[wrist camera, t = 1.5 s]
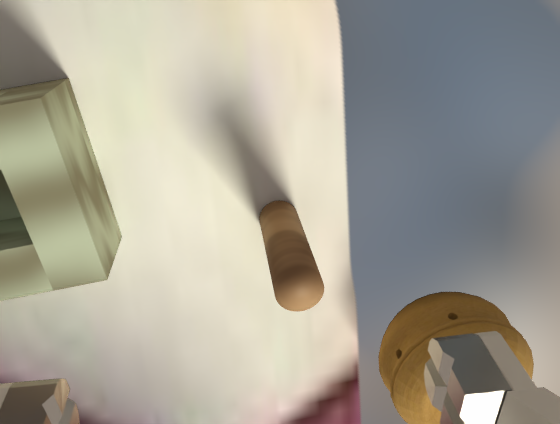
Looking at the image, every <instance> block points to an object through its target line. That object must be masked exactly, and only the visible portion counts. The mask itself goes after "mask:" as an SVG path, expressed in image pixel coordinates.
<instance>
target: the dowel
mask: <svg viewBox="0 0 560 424" xmlns="http://www.w3.org/2000/svg"><path fill="white" fill-rule="evenodd" d="M259 220H260V225H261V230H262V235H263V240H264V245H265V250H266V254H267V259H268V264H269V269H270V274H271V279H272V283H273V288H274V293H275V297H276V300H277V302H278V303H279V304H280V305H281V306H282V307H283V308H285V309H287V310H290V311H304V310H307V309H310V308H311V307H313V306H315V305H316V304H317V303H318V302H319V301H320V299H321V298H322V296H323V293H324V284H323V281H322V278H321V276H320V273H319V270H318V267H317V265H316V262H315V259H314V257H313V254H312V251H311V249H310V246H309V243H308V241H307V238H306V235H305V233H304V230H303V227H302V225H301V222H300V219H299V217H298V214H297V211H296V209H295V208H294V206H293V205H291V204H290V203H288V202H286V201H273V202H271V203H269V204H267V205H266V206H265V207H264V208H263V209H262V211H261V213H260V219H259Z"/></svg>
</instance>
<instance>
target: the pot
mask: <svg viewBox="0 0 560 424" xmlns="http://www.w3.org/2000/svg"><path fill="white" fill-rule="evenodd" d="M491 331H497V332H498V333H500V334H501V335H502V337H503V338H504V340H505V341H506V343H507V344H508V346H509V347H510V348H511V350H512V351H513V353H514V354H515V356H516V357H517V359H518V360H519V362H520V363H521V365H522V366H523V368H524V369H525V370H526V372H527V373H528V375H529V376H530V378H531V379H532V374H533V365H534V364H533V357H532V352H531V349H530V347H529V346H528V344H527V342H526V340H525V339H524V338H523V336H522V335H521V334H520V333H519V332H518V331H517V330H516V329H515V328H514V327H512V326H511V325H510V323H509V321H508V319H507V317H506V316H505V314H504V313H503V312H502V311H501V310H500V309H499V308H497V307H496V306H495V305H494V304H492V303H490V302H488V301H487V300H485V299H482V298H481V297H478V296H474V295H470V294H465V293H461V292H439V293H434V294H430V295H427V296H424V297H421V298H419V299H417V300H415V301H413V302H412V303H410V304H408V305H407V306H406V307H404V308H403V309H402V310H401V311H400V312H399V313H397V315H396V316H395V317H394V319H393V320H392V321H391V322H390V324H389V326H388V328H387V330H386V332H385V334H384V336H383V339H382V343H381V348H380V352H379V371H380V374H381V377H382V379H383V382H384V384H385V385H386V387H387V388H388V389H389V391H390V392H391V398H392V400H393V403H394V406H395V408H396V409H397V411H398V413H399V414H400V416H401V417H402V418H403V419H404V421H405V422H407V423H408V424H440V418H441V413H442V412H441V411H439V410H438V409H437V408H435V407H434V406H433V405H432V404H431V402H430V399H429V397H428V394H427V390H426V387H425V379H424V370H425V363H426V362H427V361H428V360H429V359H431V356H430V354H429V352H428V346H429V342H430V340H431V339H432V338H437V337H446V336H454V335H462V334H471V333H472V334H475V333H482V332H491Z"/></svg>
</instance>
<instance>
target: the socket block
mask: <svg viewBox="0 0 560 424" xmlns="http://www.w3.org/2000/svg"><path fill="white" fill-rule="evenodd" d="M121 238H122V236H121V233H120V230H119V227H118V224H117V221H116V218H115V215H114V212H113V209H112V206H111V203H110V200H109V197H108V194H107V191H106V188H105V185H104V182H103V179H102V176H101V173H100V170H99V167H98V164H97V161H96V158H95V155H94V152H93V149H92V146H91V143H90V140H89V137H88V134H87V131H86V128H85V125H84V122H83V119H82V116H81V113H80V110H79V107H78V105H77V102H76V99H75V96H74V93H73V90H72V87H71V84H70V81H69V78H66V79H60V80H54V81H49V82H43V83H37V84H31V85H26V86H20V87H14V88H9V89H3V90H0V301H3V300H8V299H13V298H18V297H23V296H28V295H33V294H38V293H43V292H48V291H54V290H59V289H64V288H69V287H74V286H79V285H84V284H89V283H94V282H99V281H104V280H107V279H108V276H109V273H110V270H111V267H112V264H113V261H114V258H115V255H116V252H117V249H118V247H119V244H120V241H121Z"/></svg>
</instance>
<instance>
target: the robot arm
mask: <svg viewBox="0 0 560 424" xmlns="http://www.w3.org/2000/svg"><path fill="white" fill-rule="evenodd" d="M428 352H429V354H430V356H431V359H429V360H428V361H427V362H426V363H425V370H424V379H425V387H426V390H427V394H428V397H429V399H430V402H431V404H432V405H433V406H434V407H435V408H437V409H438V410H439V411H441V412H442V413H441V418H440V424H560V397H559V396H557V395H555V394H554V393H552V392H551V391H549V390H547V389H546V388H544V387H543V388H537V387H536V385H535V384H534V382H533V381H532V379H531V378H530V376H529V375H528V373H527V372H526V370H525V369H524V368H523V366H522V365H521V363H520V362H519V360H518V359H517V357H516V356H515V354H514V353H513V351H512V350H511V348H510V347H509V346H508V344H507V343H506V341H505V340H504V338H503V337H502V335H501V334H500V333H498V332H497V331H491V332H482V333H475V334H472V333H471V334H462V335H454V336H446V337H437V338H432V339H431V340H430V342H429V346H428ZM69 391H70V388H69V385H68V383H67V381H66V379H49V380H37V381H24V382H14V383H4V384H0V424H79V413H78V409H77V406H76V403H75V402H74V401H72V400H70V399H69V398H68V394H69Z"/></svg>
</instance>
